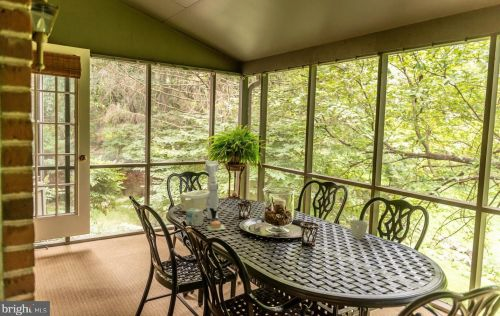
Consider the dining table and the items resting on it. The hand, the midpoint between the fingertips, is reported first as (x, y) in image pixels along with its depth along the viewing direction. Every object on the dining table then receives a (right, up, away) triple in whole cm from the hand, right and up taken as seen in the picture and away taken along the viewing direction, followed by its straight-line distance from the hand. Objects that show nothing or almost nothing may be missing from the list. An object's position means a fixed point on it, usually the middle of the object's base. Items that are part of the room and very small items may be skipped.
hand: (213, 218), depth 254 cm
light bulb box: (-14, -5, +2) cm, 15 cm away
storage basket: (-19, -1, +45) cm, 49 cm away
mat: (+3, -6, -7) cm, 10 cm away
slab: (+1, -3, -2) cm, 4 cm away
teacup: (+96, -8, -29) cm, 100 cm away
